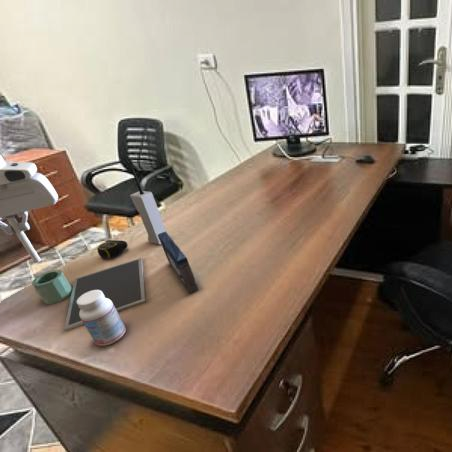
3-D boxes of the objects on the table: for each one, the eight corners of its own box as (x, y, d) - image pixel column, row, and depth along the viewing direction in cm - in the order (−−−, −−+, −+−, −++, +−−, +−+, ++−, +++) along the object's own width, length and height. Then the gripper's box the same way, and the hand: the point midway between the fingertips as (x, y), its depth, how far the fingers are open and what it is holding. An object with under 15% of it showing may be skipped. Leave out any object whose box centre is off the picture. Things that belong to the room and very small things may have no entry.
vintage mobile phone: (158, 236, 115) (130, 164, 103) (169, 239, 113) (141, 165, 100) (149, 242, 112) (118, 168, 100) (160, 245, 110) (130, 170, 98)
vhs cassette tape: (168, 263, 100) (157, 234, 95) (179, 259, 102) (168, 230, 97) (187, 295, 87) (174, 262, 82) (199, 290, 88) (187, 257, 83)
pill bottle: (91, 338, 77) (67, 299, 71) (120, 321, 80) (99, 283, 75) (101, 351, 73) (77, 311, 67) (131, 333, 77) (110, 294, 71)
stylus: (33, 263, 85) (3, 217, 79) (34, 260, 86) (5, 214, 80) (40, 261, 86) (11, 215, 79) (41, 258, 87) (13, 212, 81)
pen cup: (41, 307, 88) (29, 289, 85) (46, 293, 93) (34, 275, 90) (71, 298, 90) (60, 279, 87) (73, 284, 95) (63, 266, 92)
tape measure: (130, 248, 110) (126, 238, 108) (114, 261, 104) (109, 251, 102) (113, 247, 111) (108, 237, 109) (95, 260, 106) (90, 249, 104)
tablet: (65, 331, 79) (63, 328, 79) (75, 281, 97) (74, 278, 96) (146, 302, 86) (144, 299, 85) (142, 260, 103) (141, 257, 103)
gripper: (-87, 194, 69) (-43, 252, 76) (37, 168, 76) (67, 223, 83) (-73, 184, 74) (-33, 240, 80) (42, 161, 81) (70, 213, 88)
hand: (19, 231), depth 82 cm, fingers closed on stylus, 1 cm apart
